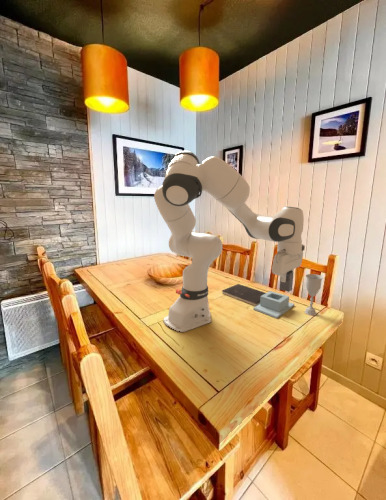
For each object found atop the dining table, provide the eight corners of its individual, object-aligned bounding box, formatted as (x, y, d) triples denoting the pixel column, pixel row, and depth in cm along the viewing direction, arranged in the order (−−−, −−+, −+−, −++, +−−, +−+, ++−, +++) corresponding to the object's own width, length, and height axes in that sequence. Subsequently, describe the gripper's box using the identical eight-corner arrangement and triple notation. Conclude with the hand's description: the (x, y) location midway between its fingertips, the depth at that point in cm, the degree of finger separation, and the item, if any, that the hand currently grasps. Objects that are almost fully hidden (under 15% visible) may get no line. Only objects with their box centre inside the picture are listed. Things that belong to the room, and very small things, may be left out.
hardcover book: (255, 307, 113) (256, 303, 113) (221, 294, 130) (221, 290, 130) (272, 298, 124) (272, 294, 123) (238, 287, 141) (238, 283, 140)
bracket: (288, 291, 92) (290, 273, 91) (274, 288, 96) (276, 270, 95) (291, 289, 94) (293, 271, 93) (278, 286, 98) (279, 268, 97)
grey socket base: (276, 318, 102) (277, 306, 101) (253, 309, 110) (254, 298, 109) (294, 305, 114) (295, 294, 113) (271, 298, 122) (272, 288, 121)
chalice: (312, 317, 102) (316, 280, 98) (298, 311, 108) (302, 275, 104) (322, 314, 105) (326, 277, 101) (309, 308, 111) (312, 273, 107)
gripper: (285, 252, 82) (282, 288, 85) (306, 245, 96) (303, 276, 98) (269, 250, 86) (266, 284, 89) (291, 243, 100) (289, 273, 103)
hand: (286, 280), depth 94 cm, fingers closed on bracket, 3 cm apart
